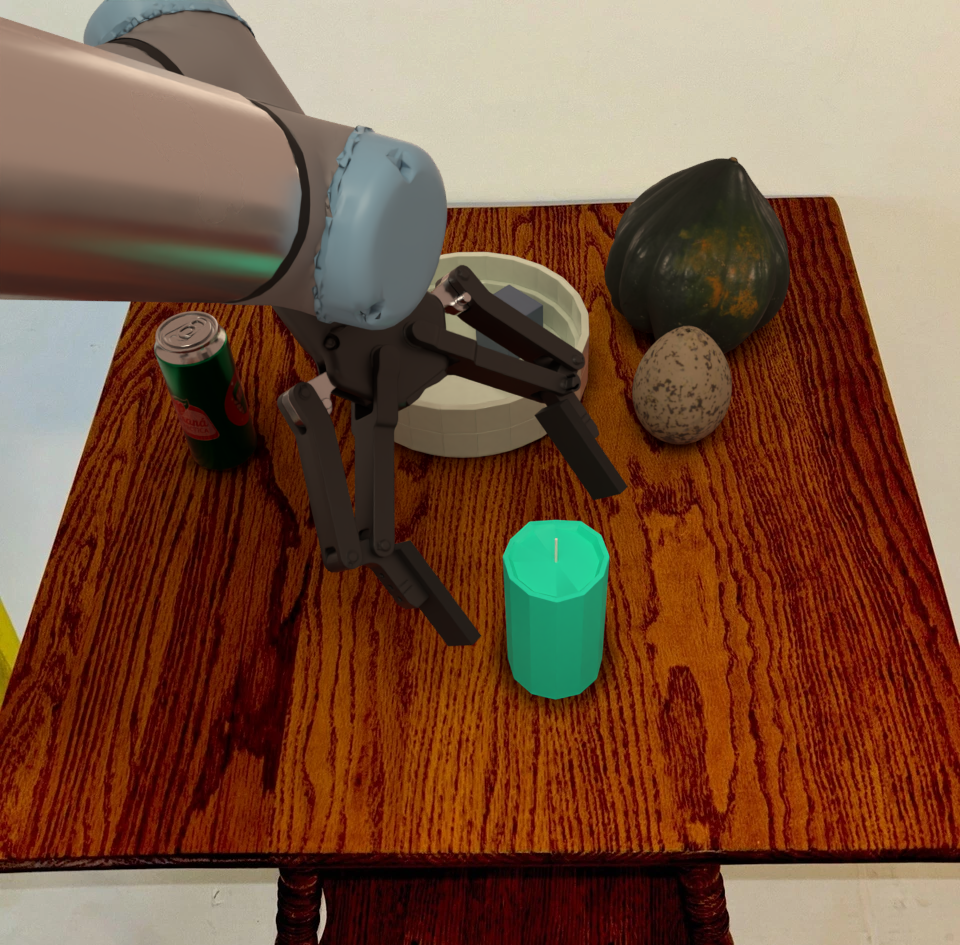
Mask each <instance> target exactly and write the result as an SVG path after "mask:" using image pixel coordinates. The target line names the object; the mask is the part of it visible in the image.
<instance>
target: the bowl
mask: <svg viewBox="0 0 960 945" xmlns="http://www.w3.org/2000/svg"><path fill="white" fill-rule="evenodd" d="M460 265H465V266H467V267H469V268H470V269H471V270H472V272H473V273H474V274H475V275H476V276H477V278H478V279H479V280H480V281H481V282H482V284H483V285H484V286H485V287H486V288H487V290H488V291H489V292H491V293H492V294H494V293H496V292H497V291H499V290H501V289H502V288H504V287H506V286H507V285H511V286H513V287H514V288H516V289H518V290H519V291H521V292H523V293H524V294H526V295H528V296H529V297H531V298H533V299H534V300H536V301H538V302H539V303H541V304H543V327H544V328H545V329H547V330H548V331H550V332H551V333H553V334H554V335H556V336H557V337H559V338H560V339H562V340H563V341H565V342H566V343H568V344H569V345H571V346H573V347H574V348H576V349H577V350H579V351H580V352H581V353H582V354H583V355H584V357H585V365H584V367H583V368H582V369H580V370H578V372H577V375H578V376H579V377H580V380H581V386H580V389H579V390H578V391H575V392H574V393H575V395H576V396H577V398H578V399H579V401H580V402H581V400H582V397H583V395H584V392H585V389H586V387H587V384H588V380H589V350H590V349H589V348H590V316H589V312H588V309H587V307H586V304H585V303H584V301H583V299H582V297H581V294H580V293H579V292H578V291H577V290H576V289H575V287H573V286H572V285H571V284H570V283H569V282H568V281H567V280H566V279H565V278H564V277H563V276H561V275H560V274H558V273H556V272H555V271H552V270H551V269H549V267H546V266H544V265H542V264H541V263H538V262H534V261H531V260H528V259H526V258H522V257H519V256H515V255H510V254H504V253H496V252H490V251H458V252H450V253H444V254H440V260H439V263H438V266H437V269H436V272H435V275H434V277H433V280H432V282H431V284H430V286H429V288H428V291H429V292H432V291H433V290H434V289H435V283H436V282H437V280H439V279H440V278H442V277H443V276H445V275H446V274H447V273H449V272H450V271H452V270H453V269H455V268H456V267H458V266H460ZM445 319H446V330H448V331H451V332H454V333H456V334H459V335H462V336H465V337H468V338H471V339H474V340H476V330H475V329H474V328H472V327H471V326H469V325H467V324H466V323H465V322H463V321H462V320H461V319H460V318H459V317H457V316H454V315H450V314H446V313H445ZM519 359H521V358H519ZM521 360H522V359H521ZM523 361H524V360H523ZM545 407H547V406H546V404H543V403H539V402H536V401H533V400H530V399H527V398H524V397H520V396H517V395H514V394H511V393H508V392H505V391H502V390H499V389H496V388H493V387H490V386H486V385H483V384H480V383H477V382H474V381H471V380H468V379H465V378H462V377H459V376H455V375H447V376H446V377H445V378H444V379H442V380H441V381H440V382H439V383H437V384H435V385H433V386H431V387H429V388H427V389H425V390H424V392H423V393H422V395H421V396H420V398H419V399H418V400H416V401H415V402H414V403H413V404H411V405H410V406H408V407H406V408H404V409H402V410H400V411H398V423H397V426H396V428H395V431H394V443H396V444H398V445H400V446H403V447H405V448H408V449H410V450H412V451H416V452H420V453H423V454H428V455H431V456H438V457H445V458H460V459H463V458H464V459H465V458H467V459H468V458H482V457H488V456H494V455H499V454H503V453H508V452H511V451H513V450H516V449H520V448H523V447H524V446H526V445H529V444H531V443H532V442H536V441H537V440H539V439H542V438H544V436H546V435H548V434H547V433H546V431H545V430H544V429H543V427H542V426H541V424H540V423H539V421H538V420H537V419H536V417H535V416H534V415H535V414H536V413H537V412H539V411H540V410H541V409H542V408H545Z"/></svg>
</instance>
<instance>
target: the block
mask: <svg viewBox="0 0 960 945" xmlns="http://www.w3.org/2000/svg"><path fill="white" fill-rule="evenodd" d="M494 295H495V296H497V297H498V298H500V299H501V300H503V301H504V302H506V303H507V304H509V305H510V306H512V307H513V308H515V309H516V310H518V311H519V312H521V313H522V314H524V315H525V316H527V317H528V318H530V319H532V320H533V321H535V322H536V323H538V324H539V325H541V326H542V327H543V304H541V303H539V302H538V301H536V300H534V299H533V298H531V297H529V296H528V295H526V294H524V293H523V292H521V291H519V290H518V289H516V288H514V287H513V286H511V285H507V286H506V287H504V288H502V289H501V290H499V291H497V292H496V293H494ZM476 341H477V344H478V345H480V346H483V347H486V348H488V349H491V350H494V351H497V352H500V353H503V354H506V355H509V356H512V357H515V358H518V359H519V357H518V356H516V355H515V354H513V353H511V352H510V351H508V350H507V349H505V348H504V347H502V346H500V345H499V344H497V343H496V342H494V341H493V340H491V339H489V338H488V337H486V336H485V335H483V334H482V333H480V332H478V331H477V330H476Z"/></svg>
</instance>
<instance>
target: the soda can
mask: <svg viewBox="0 0 960 945" xmlns="http://www.w3.org/2000/svg"><path fill="white" fill-rule="evenodd" d="M154 338H155V342H154V346H153V350H154V351H153V352H154V356H155V358H156V361H157V363H158V366H159V368H160V372H161V374H162V377H163V379H164V383H165V386H166V388H167V391H168V394H169V396H170V399H171V401H172V405H173V407H174V410H175V413H176V415H177V419H178V421H179V424H180V427H181V429H182V433H183V435H184V438H185V440H186V443H187V445H188V449H189V451H190V454H191V456H192V459H193V460H194V461H195V463H196V464H197V465H199V466H201V467H202V468H205V469H207V470H212V471H218V472H221V471H229V470H233V469H235V468H238V467H240V466H241V465H243V464H245V463H246V462H247V461H248V460H250V458H251V457H252V456H253V454H254V452H256V449H257V446H258V436H257V433H256V429H255V426H254V422H253V419H252V417H251V413H250V408H249V406H248V402H247V399H246V395H245V391H244V388H243V385H242V381H241V379H240V375H239V371H238V368H237V364H236V362H235V358H234V355H233V351H232V347H231V344H230V341H229V337H228V334H227V330H226V329H225V328H224V326H222V325H220V324H219V322H218V321H217V319H216V318H215V316H213V315H211V314H210V313H208V312H204V311H198V310H197V311H196V310H192V311H191V310H190V311H183V312H179V313H177V314H174V315H172V316H170V317H168V318H166V320H164V321H162V322H161V323H160V325H159V326H158V328H157V329H156V331H155V337H154Z"/></svg>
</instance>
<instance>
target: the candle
mask: <svg viewBox="0 0 960 945" xmlns="http://www.w3.org/2000/svg"><path fill="white" fill-rule="evenodd" d="M502 567H503V568H502V569H503V588H504V589H503V591H504V606H505V607H504V608H505V627H506V628H505V629H506V648H507V660H508V663H509V667H510V670H511V672H512V673H511V674H512V677H513V680H514V681H516V682H517V683H518V684H519V685H521V686H522V687H523V688H524V689H525V690H526V691H527V692H529V693H530V694H531V695H534V696H538V697H541V698H546V699H547V698H548V699H551V700H555V701H556V700H561V699H564V698H568V697H573V696H578V695H580V694H582V693H583V692H584V691H585V690H586V689H587V688H589V687H590V686H591V685H592V684H593V683H594V682H595V681H596V680H597V679H598V676H599V671H600V668H601V664H602V661H603V653H604V652H603V651H604V638H605V624H606V623H605V622H606V611H607V597H608V596H607V595H608V582H609V581H608V580H609V568H610V554H609V551H608V548H607V546H606V544H605V541H604V538H603V536H602V534H600V533H599V532H598V531H596V530H595V529H593V528H592V527H591V526H588V525H587V524H586V523H584V522H583V521H582V520H563V519H549V520H547V519H546V520H535V521H534V520H533V521H532V520H531V521H528V522H527V523H526V524H525V525H524V526H523V527H522V528H521V529H519V531H517V532H516V533H515V534H514V535H513V536H512V537H511V538H510V539H509V541H508V543H507V545H506V548H505V551H504V552H503V555H502Z"/></svg>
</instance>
